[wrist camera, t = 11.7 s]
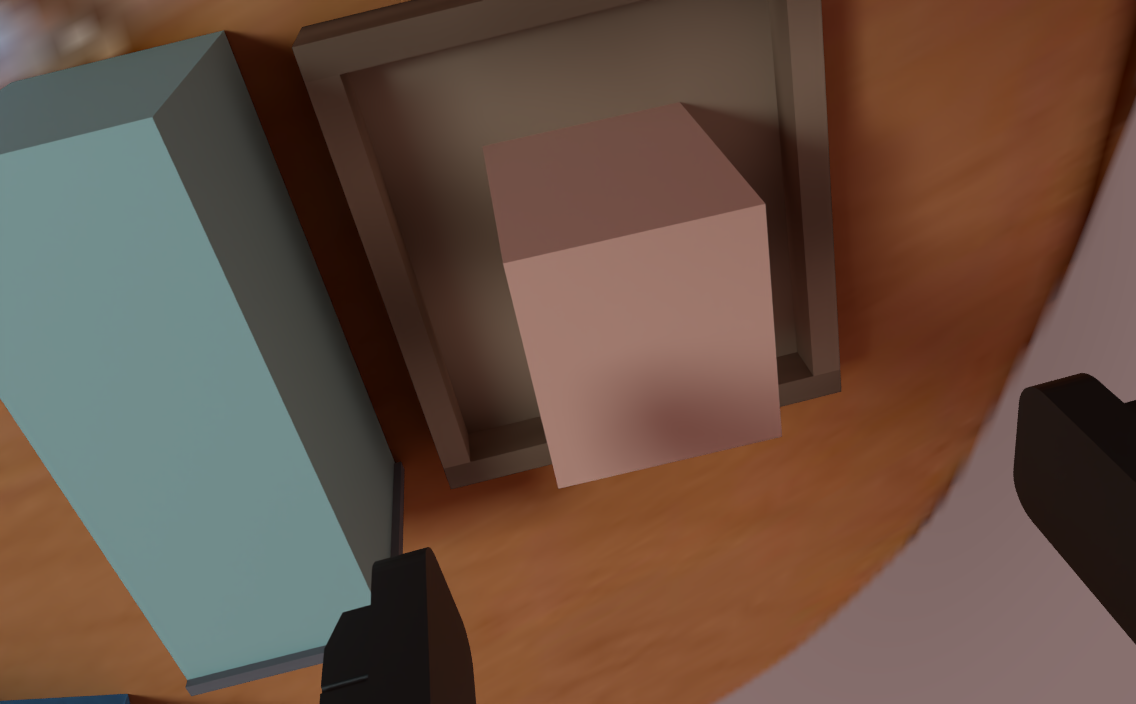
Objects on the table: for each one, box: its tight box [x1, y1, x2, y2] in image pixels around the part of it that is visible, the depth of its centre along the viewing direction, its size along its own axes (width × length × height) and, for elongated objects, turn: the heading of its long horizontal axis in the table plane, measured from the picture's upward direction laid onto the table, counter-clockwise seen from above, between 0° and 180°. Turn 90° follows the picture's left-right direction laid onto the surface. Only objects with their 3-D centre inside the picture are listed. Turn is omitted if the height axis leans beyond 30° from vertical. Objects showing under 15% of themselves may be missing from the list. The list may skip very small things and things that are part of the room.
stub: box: [482, 102, 782, 489], centre depth 19 cm, size 5×4×6 cm
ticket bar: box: [0, 31, 404, 696], centre depth 20 cm, size 12×5×6 cm, turn 12°
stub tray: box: [292, 0, 841, 489], centre depth 21 cm, size 11×10×2 cm
